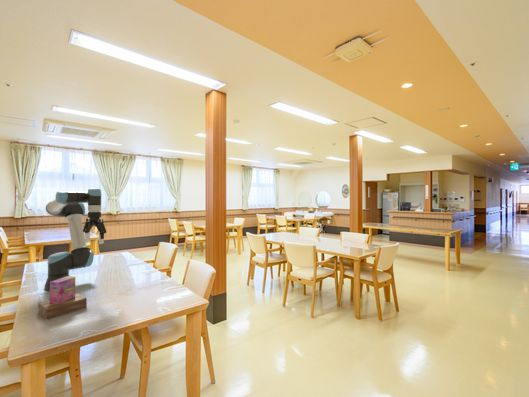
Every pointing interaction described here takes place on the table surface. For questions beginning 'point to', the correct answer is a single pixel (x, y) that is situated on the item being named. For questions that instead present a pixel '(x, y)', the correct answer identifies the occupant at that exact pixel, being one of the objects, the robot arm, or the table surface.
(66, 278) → the box
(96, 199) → the robot arm
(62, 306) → the block
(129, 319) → the table surface
